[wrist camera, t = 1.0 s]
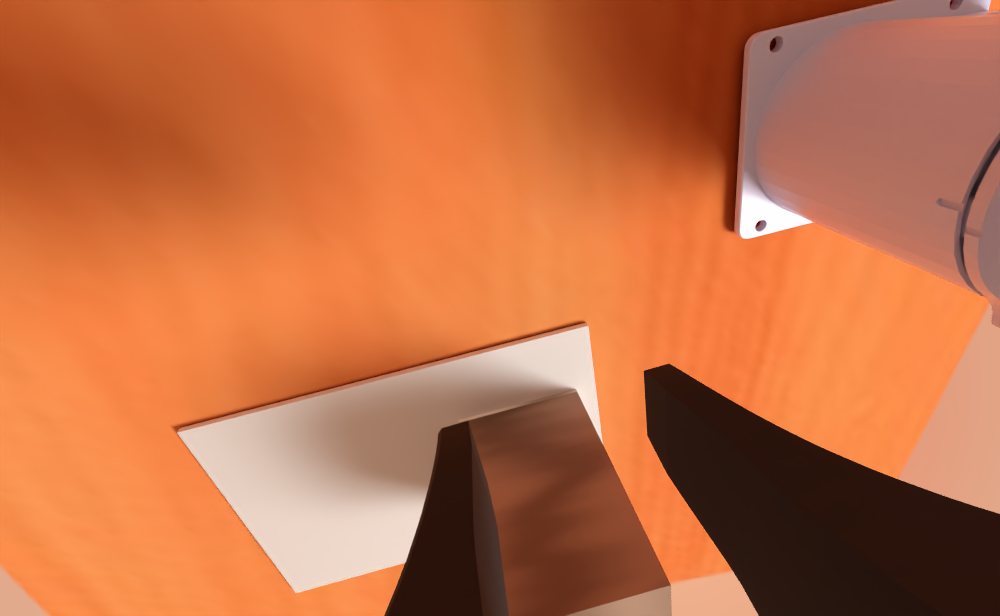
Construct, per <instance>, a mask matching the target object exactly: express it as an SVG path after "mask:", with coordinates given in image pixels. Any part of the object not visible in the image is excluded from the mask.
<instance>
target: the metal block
mask: <svg viewBox="0 0 1000 616" xmlns="http://www.w3.org/2000/svg"><path fill="white" fill-rule="evenodd" d="M465 421H469V424H470V427H471V431H472V434H473V437H474V440H475V444H476V447H477V450H478V453H479V457H480V460H481V463H482V466H483V469H484V473H485V476H486V479H487V482H488V487H489V491H490V495H491V500H492V504H493V509H494V513H495V518H496V522H497V527H498V535H499V542H500V550H501V558H502V566H503V574H504V582H505V590H506V598H507V606H508V614H509V616H672V614H671V585H670V583H669V581H668V579H667V576H666V574H665V572H664V570H663V568H662V566H661V564H660V562H659V560H658V558H657V556H656V554H655V552H654V550H653V547H652V545H651V543H650V541H649V539H648V537H647V535H646V533H645V531H644V529H643V527H642V525H641V523H640V521H639V518H638V516H637V514H636V512H635V510H634V508H633V506H632V504H631V502H630V500H629V498H628V496H627V494H626V492H625V489H624V487H623V485H622V483H621V481H620V479H619V477H618V475H617V473H616V471H615V469H614V467H613V465H612V463H611V460H610V458H609V456H608V454H607V452H606V450H605V448H604V446H603V444H602V442H601V440H600V438H599V436H598V434H597V431H596V429H595V427H594V425H593V423H592V421H591V419H590V417H589V415H588V413H587V411H586V409H585V407H584V405H583V402H582V400H581V398H580V396H579V394H578V392H577V390H576V389H574V390H570V391H566V392H563V393H559V394H555V395H551V396H548V397H544V398H540V399H536V400H532V401H529V402H525V403H521V404H517V405H514V406H510V407H506V408H502V409H499V410H495V411H491V412H487V413H484V414H480V415H476V416H472V417H469V418H465V419H461V420H459V423H462V422H465Z"/></svg>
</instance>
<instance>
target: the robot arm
mask: <svg viewBox="0 0 1000 616" xmlns="http://www.w3.org/2000/svg"><path fill="white" fill-rule="evenodd" d="M950 2H951V0H893V1H888V2H884V3H880V4H876V5H871V6H867V7H863V8H859V9H854V10H850V11H846V12H841V13H837V14H833V15H829V16H824V17H820V18H816V19H812V20H807V21H803V22H799V23H795V24H790V25H786V26H782V27H778V28H773V29H769V30H765V31H761V32H757V33H755V34H753V35H752V36H751V37H750V38H749V39H748V41H747V43H746V45H745V50H744V65H743V83H742V101H741V119H740V136H739V154H738V172H737V190H736V208H735V226H734V230H735V233H736V235H737V236H739V237H741V238H743V239H750V238H753V237H757V236H761V235H765V234H769V233H773V232H777V231H781V230H785V229H789V228H793V227H796V226H800V225H804V224H808V223H812V222H815V223H817V224H819V225H821V226H824V227H826V228H828V229H830V230H833V231H835V232H837V233H840V234H842V235H844V236H846V237H849V238H851V239H853V240H856V241H858V242H860V243H862V244H865V245H867V246H869V247H872V248H874V249H876V250H878V251H881V252H883V253H885V254H888V255H890V256H892V257H894V258H897V259H899V260H901V261H904V262H906V263H908V264H910V265H913V266H915V267H917V268H920V269H922V270H924V271H926V272H929V273H931V274H933V275H936V276H938V277H940V278H942V279H945V280H947V281H949V282H952V283H954V284H956V285H958V286H961V287H963V288H965V289H968V290H970V291H972V292H974V293H977V294H979V295H981V296H985V297H986V298H987V299H988V300H989V301H990V303H991V306H992V311H993V313H992V324H993V325H996V326H998V327H1000V10H995V11H988V10H989V6H990V2H991V0H953V1H952V4H951V6H950ZM773 38H775V39H776V45H775V48H774V49H773V50H772V51H770V47H769V46H770V42H771V41H772V39H773ZM760 220H761V223H760V225H759V226H758V227H757V228H755V226H756V224H757V223H758V221H760ZM644 383H645V400H646V418H647V435H648V437H649V439H650V441H651V443H652V445H653V447H654V449H655V451H656V453H657V455H658V457H659V459H660V461H661V463H662V465H663V467H664V468H665V470H666V472H667V474H668V476H669V477H670V479H671V480H672V482H673V483H674V485H675V486H676V488H677V489H678V491H679V492H680V494H681V495H682V497H683V498H684V500H685V501H686V503H687V504H688V506H689V507H690V508H691V510H692V511H693V513H694V514H695V516H696V517H697V519H698V520H699V522H700V523H701V525H702V526H703V527H704V529H705V530H706V532H707V533H708V535H709V536H710V538H711V539H712V541H713V542H714V544H715V545H716V546H717V548H718V549H719V551H720V552H721V554H722V555H723V557H724V558H725V560H726V561H727V563H728V564H729V566H730V567H731V569H732V570H733V572H734V574H735V575H736V577H737V578H738V580H739V581H740V583H741V585H742V586H743V588H744V590H745V592H746V593H747V595H748V597H749V599H750V601H751V602H752V604H753V606H754V608H755V610H756V611H757V613H758V615H759V616H1000V514H998V513H995V512H991V511H988V510H985V509H982V508H978V507H975V506H972V505H969V504H966V503H963V502H960V501H957V500H954V499H951V498H948V497H945V496H942V495H939V494H937V493H934V492H931V491H928V490H925V489H923V488H920V487H917V486H915V485H912V484H909V483H906V482H904V481H901V480H898V479H895V478H893V477H890V476H888V475H885V474H883V473H880V472H877V471H875V470H872V469H870V468H868V467H865V466H863V465H860V464H858V463H856V462H853V461H851V460H849V459H846V458H844V457H842V456H839V455H837V454H835V453H832V452H830V451H828V450H826V449H824V448H821V447H819V446H817V445H815V444H813V443H811V442H809V441H807V440H804V439H802V438H800V437H798V436H796V435H794V434H792V433H790V432H788V431H786V430H784V429H782V428H780V427H778V426H776V425H775V424H773V423H771V422H769V421H767V420H765V419H763V418H761V417H759V416H758V415H756V414H754V413H752V412H750V411H749V410H747V409H745V408H743V407H741V406H740V405H738V404H736V403H734V402H733V401H731V400H729V399H727V398H726V397H724V396H722V395H721V394H719V393H717V392H716V391H714V390H712V389H710V388H709V387H707V386H705V385H704V384H702V383H700V382H699V381H697V380H696V379H694V378H692V377H691V376H689V375H687V374H686V373H684V372H682V371H681V370H679V369H677V368H676V367H674V366H672V365H670V364H666V365H663V366H659V367H656V368H652V369H649V370H645V371H644ZM384 616H509V614H508V606H507V598H506V590H505V582H504V574H503V566H502V558H501V550H500V542H499V535H498V527H497V522H496V518H495V513H494V509H493V504H492V500H491V495H490V491H489V487H488V482H487V479H486V476H485V473H484V469H483V466H482V463H481V460H480V457H479V453H478V450H477V447H476V444H475V440H474V437H473V434H472V431H471V427H470V424H469V421H465V422H462V423H458V424H455V425H451V426H448V427H444V428H442V429H441V430H440V431H439V433H438V440H437V448H436V454H435V460H434V465H433V470H432V474H431V479H430V483H429V487H428V491H427V494H426V498H425V502H424V506H423V510H422V513H421V517H420V520H419V523H418V526H417V529H416V532H415V536H414V539H413V542H412V545H411V548H410V551H409V554H408V557H407V560H406V562H405V565H404V568H403V571H402V573H401V576H400V579H399V581H398V584H397V586H396V589H395V591H394V594H393V596H392V598H391V601H390V603H389V606H388V608H387V611H386V613H385V615H384Z"/></svg>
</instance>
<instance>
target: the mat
mask: <svg viewBox="0 0 1000 616" xmlns="http://www.w3.org/2000/svg"><path fill="white" fill-rule="evenodd" d="M574 389H576V390H577V392H578V394H579V396H580V398H581V400H582V402H583V405H584V407H585V409H586V411H587V413H588V415H589V417H590V419H591V421H592V423H593V425H594V427H595V429H596V431H597V434H598V436H599V438H600V440H601V442H602V435H601V427H600V419H599V410H598V402H597V394H596V386H595V378H594V369H593V361H592V353H591V345H590V337H589V328H588V325H587V323H582V324H578V325H574V326H571V327H567V328H563V329H559V330H555V331H551V332H547V333H544V334H540V335H536V336H532V337H528V338H524V339H521V340H517V341H513V342H509V343H505V344H501V345H497V346H494V347H490V348H486V349H482V350H478V351H474V352H470V353H467V354H463V355H459V356H455V357H451V358H447V359H444V360H440V361H436V362H432V363H428V364H424V365H420V366H417V367H413V368H409V369H405V370H401V371H397V372H393V373H390V374H386V375H382V376H378V377H374V378H370V379H366V380H363V381H359V382H355V383H351V384H347V385H343V386H340V387H336V388H332V389H328V390H324V391H320V392H316V393H313V394H309V395H305V396H301V397H297V398H293V399H289V400H286V401H282V402H278V403H274V404H270V405H266V406H263V407H259V408H255V409H251V410H247V411H243V412H239V413H236V414H232V415H228V416H224V417H220V418H216V419H212V420H209V421H205V422H201V423H197V424H193V425H189V426H185V427H182V428H179V430H178V432H177V433H178V435H179V436H180V437H181V439H182V440H183V442H184V443H185V444H186V446H187V447H188V448H189V450H190V451H191V452H192V454H193V455H194V456H195V458H196V459H197V460H198V462H199V463H200V464H201V466H202V467H203V469H204V470H205V471H206V473H207V474H208V475H209V477H210V478H211V479H212V481H213V482H214V483H215V485H216V486H217V487H218V489H219V490H220V491H221V493H222V494H223V496H224V497H225V498H226V500H227V501H228V502H229V504H230V505H231V506H232V508H233V509H234V510H235V512H236V513H237V514H238V516H239V517H240V518H241V520H242V521H243V522H244V524H245V525H246V527H247V528H248V529H249V531H250V532H251V533H252V535H253V536H254V537H255V539H256V540H257V541H258V543H259V544H260V545H261V547H262V548H263V549H264V551H265V552H266V554H267V555H268V556H269V558H270V559H271V560H272V562H273V563H274V564H275V566H276V567H277V568H278V570H279V571H280V572H281V574H282V575H283V576H284V578H285V579H286V581H287V582H288V583H289V585H290V586H291V587H292V589H293V590H294V591H295V593H298V592H302V591H305V590H309V589H313V588H316V587H320V586H323V585H327V584H331V583H334V582H338V581H341V580H345V579H348V578H352V577H356V576H359V575H363V574H366V573H370V572H374V571H377V570H381V569H384V568H388V567H392V566H395V565H399V564H402V563H405V562H406V560H407V557H408V554H409V551H410V548H411V545H412V542H413V539H414V536H415V532H416V529H417V526H418V523H419V520H420V517H421V513H422V510H423V506H424V502H425V498H426V494H427V491H428V487H429V483H430V479H431V474H432V470H433V465H434V460H435V454H436V448H437V440H438V433H439V431H440V430H441V429H442V428H444V427H448V426H451V425H455V424H458V423H459V420H461V419H465V418H469V417H472V416H476V415H480V414H484V413H487V412H491V411H495V410H499V409H502V408H506V407H510V406H514V405H517V404H521V403H525V402H529V401H532V400H536V399H540V398H544V397H548V396H551V395H555V394H559V393H563V392H566V391H570V390H574ZM602 444H603V443H602Z"/></svg>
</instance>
